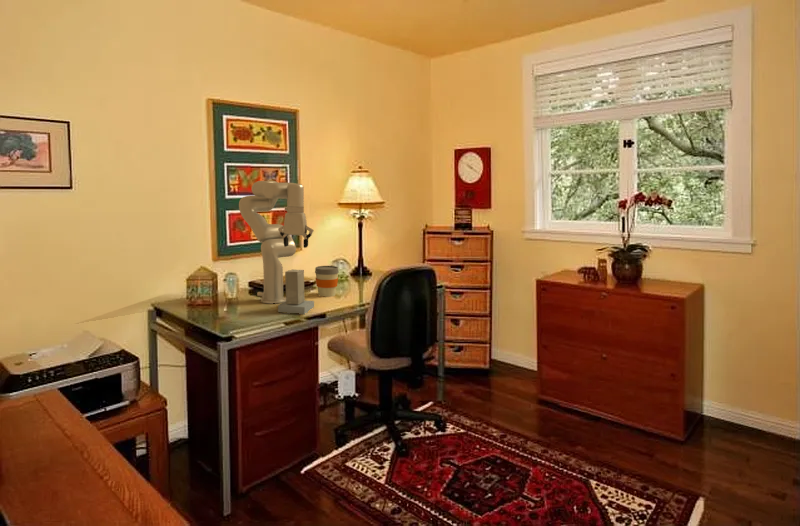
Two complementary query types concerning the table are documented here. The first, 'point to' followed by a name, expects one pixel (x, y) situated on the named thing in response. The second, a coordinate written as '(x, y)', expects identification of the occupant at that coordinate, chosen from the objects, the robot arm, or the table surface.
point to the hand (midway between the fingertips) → (295, 246)
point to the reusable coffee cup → (326, 280)
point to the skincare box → (294, 286)
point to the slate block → (296, 307)
